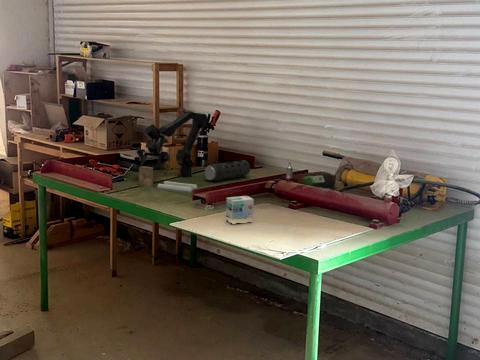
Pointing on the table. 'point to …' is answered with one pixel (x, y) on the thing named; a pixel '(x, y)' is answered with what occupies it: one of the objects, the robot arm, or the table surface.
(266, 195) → the table surface
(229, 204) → the light bulb box
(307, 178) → the green bottle
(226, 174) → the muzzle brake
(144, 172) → the wooden block
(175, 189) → the track board
